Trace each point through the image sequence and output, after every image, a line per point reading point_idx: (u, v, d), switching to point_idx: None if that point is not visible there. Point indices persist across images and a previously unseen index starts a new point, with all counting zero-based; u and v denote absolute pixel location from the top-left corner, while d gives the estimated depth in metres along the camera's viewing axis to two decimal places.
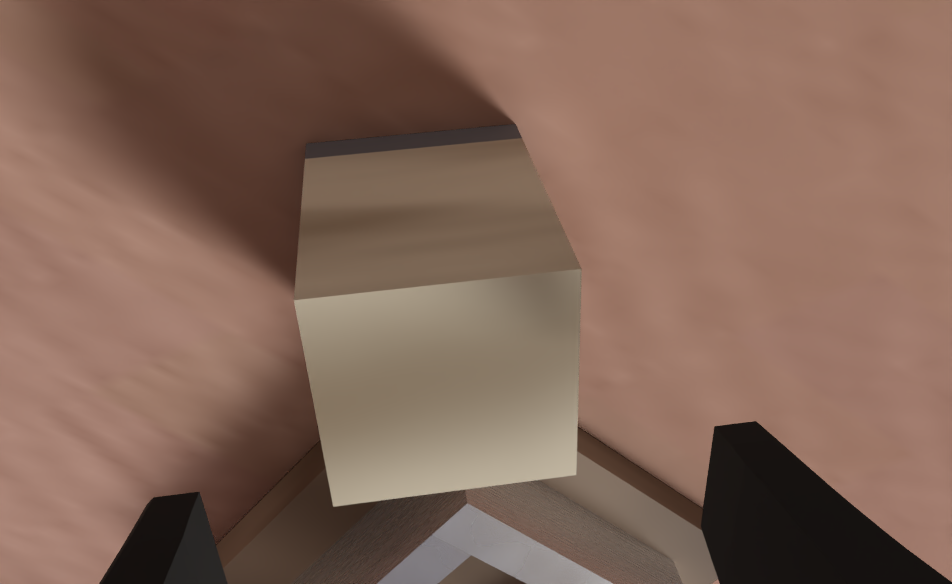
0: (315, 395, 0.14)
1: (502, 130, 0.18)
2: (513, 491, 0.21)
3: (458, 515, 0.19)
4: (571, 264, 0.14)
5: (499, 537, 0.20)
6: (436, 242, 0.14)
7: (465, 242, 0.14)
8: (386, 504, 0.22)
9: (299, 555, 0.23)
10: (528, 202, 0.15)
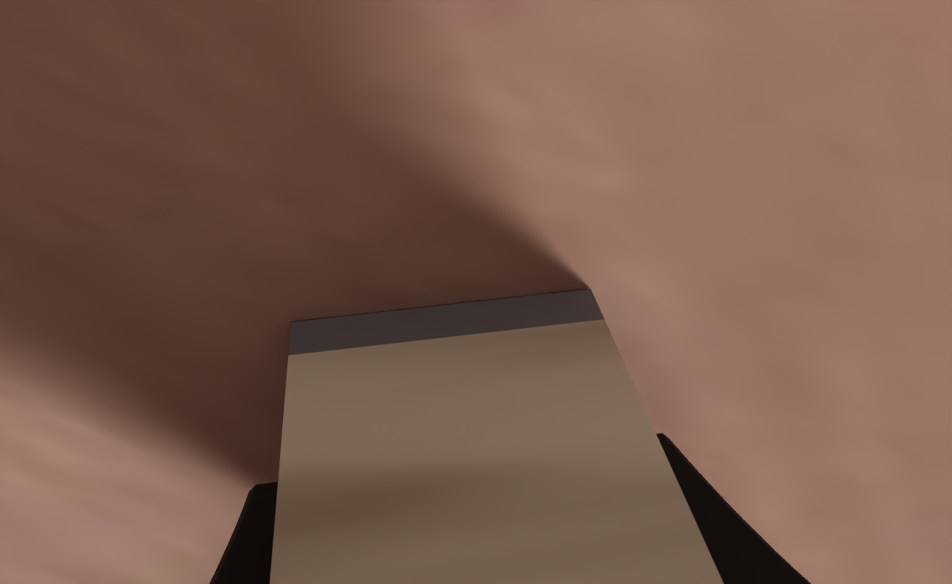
0: None
1: (573, 302, 0.13)
2: None
3: None
4: None
5: None
6: (496, 561, 0.09)
7: (543, 565, 0.09)
8: None
9: None
10: (633, 465, 0.10)
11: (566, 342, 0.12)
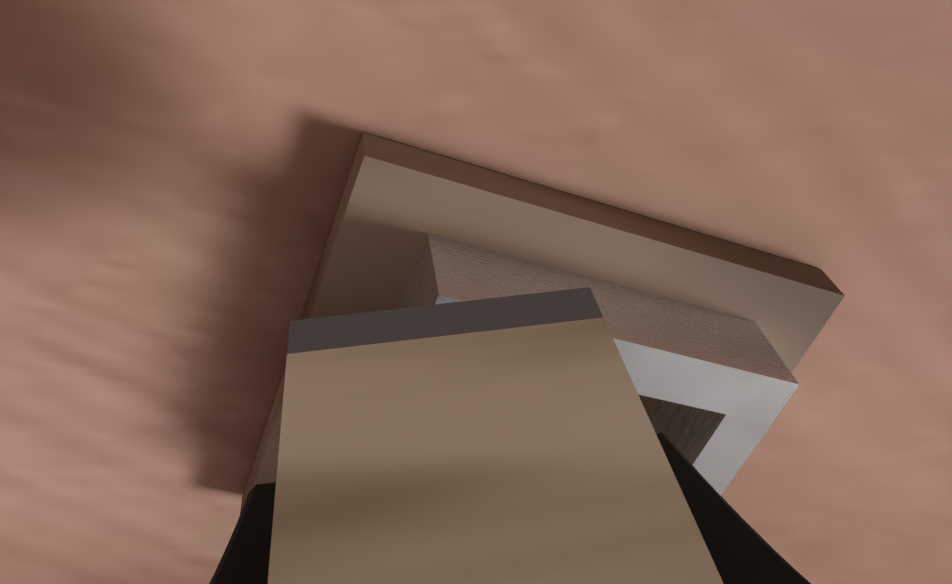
0: None
1: (572, 300, 0.13)
2: (510, 279, 0.18)
3: None
4: None
5: None
6: (494, 560, 0.09)
7: (542, 563, 0.09)
8: None
9: None
10: (632, 464, 0.10)
11: (565, 340, 0.12)
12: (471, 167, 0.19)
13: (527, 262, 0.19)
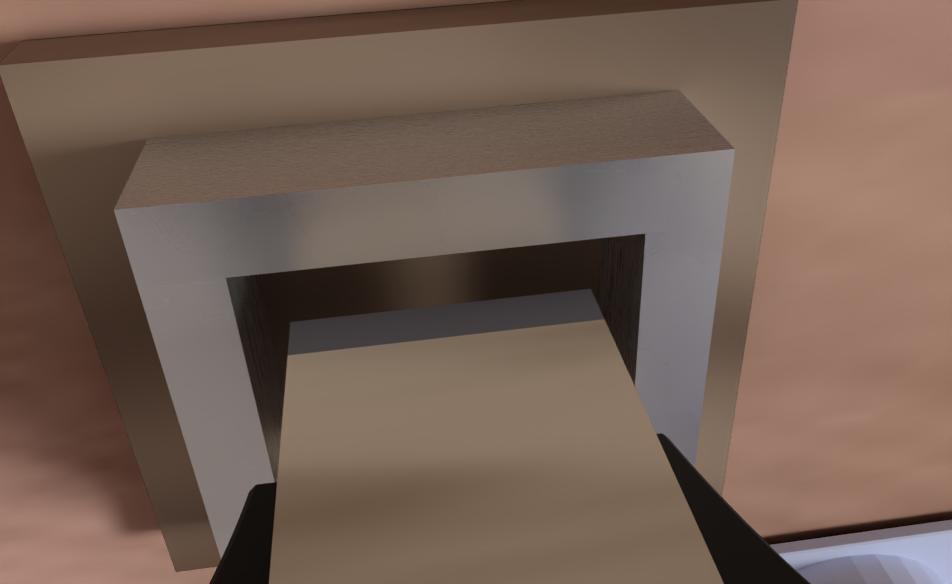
0: None
1: (573, 301, 0.13)
2: (257, 155, 0.13)
3: (129, 235, 0.12)
4: None
5: (224, 226, 0.12)
6: (495, 562, 0.09)
7: (543, 565, 0.09)
8: None
9: None
10: (633, 466, 0.10)
11: (566, 342, 0.12)
12: (181, 31, 0.14)
13: (297, 127, 0.13)
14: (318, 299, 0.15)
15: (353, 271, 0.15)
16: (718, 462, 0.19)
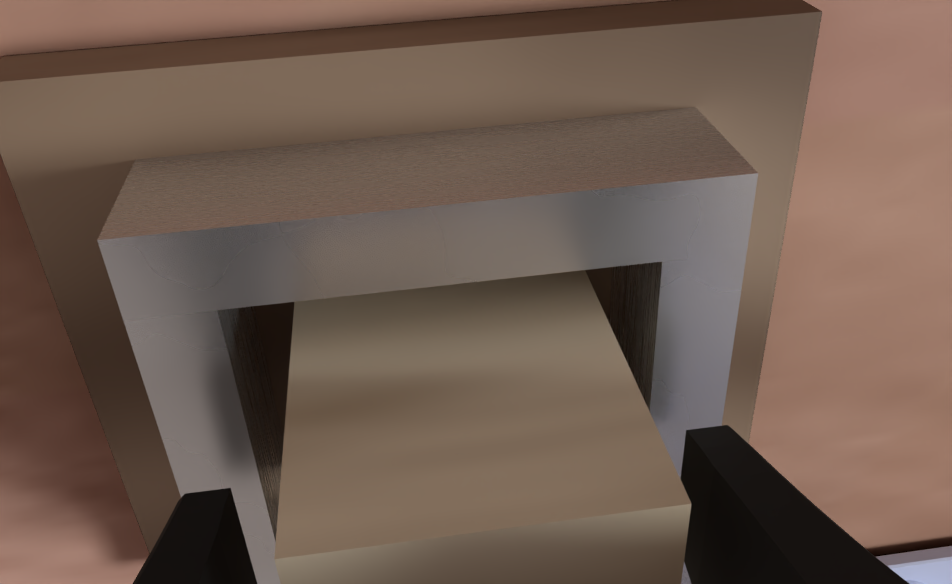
0: None
1: None
2: (250, 179, 0.12)
3: (114, 267, 0.11)
4: (675, 494, 0.09)
5: (215, 256, 0.11)
6: (477, 445, 0.10)
7: (518, 447, 0.10)
8: None
9: None
10: (599, 372, 0.11)
11: (544, 276, 0.13)
12: (170, 45, 0.13)
13: (294, 147, 0.13)
14: None
15: None
16: None
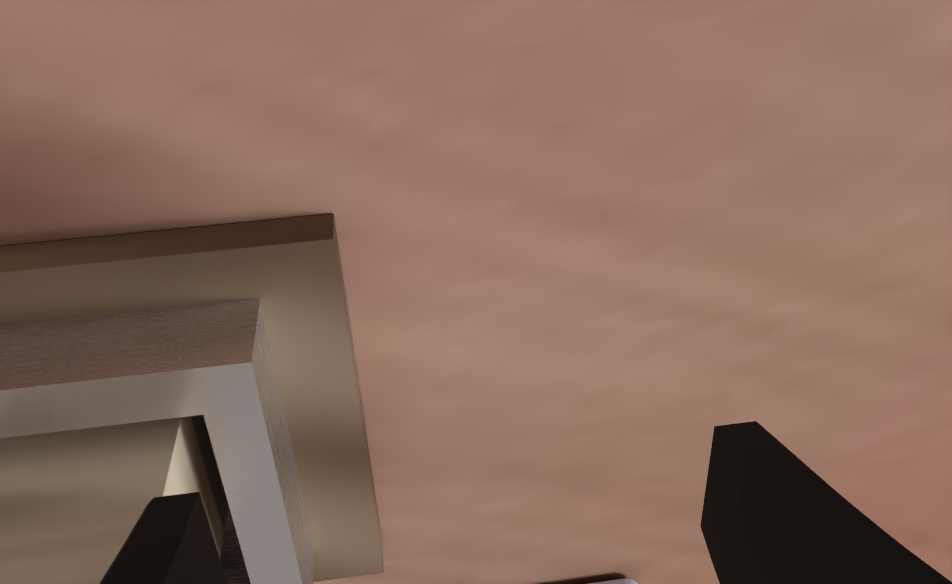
0: None
1: None
2: None
3: None
4: None
5: None
6: (38, 545, 0.16)
7: (62, 546, 0.16)
8: None
9: None
10: (143, 492, 0.17)
11: None
12: None
13: None
14: None
15: None
16: (373, 546, 0.24)
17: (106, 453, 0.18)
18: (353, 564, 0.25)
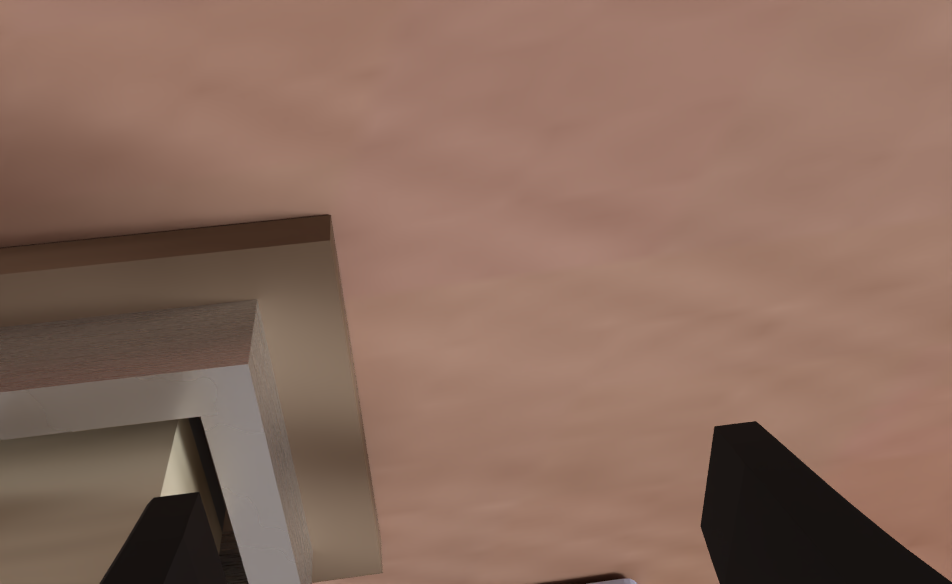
0: None
1: None
2: None
3: None
4: None
5: None
6: (35, 547, 0.16)
7: (59, 549, 0.16)
8: None
9: None
10: (140, 494, 0.17)
11: None
12: None
13: None
14: None
15: None
16: (372, 546, 0.24)
17: (103, 455, 0.18)
18: (352, 565, 0.25)
